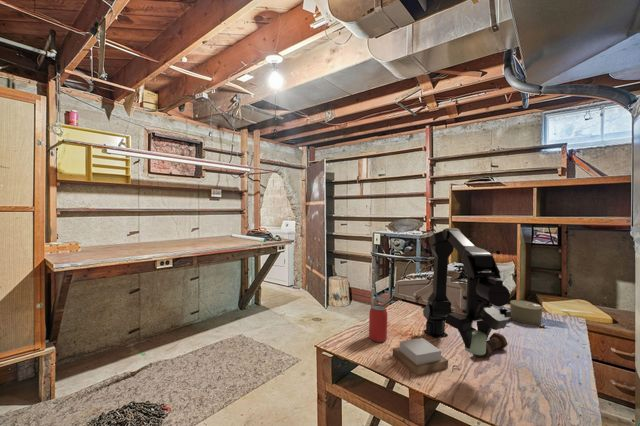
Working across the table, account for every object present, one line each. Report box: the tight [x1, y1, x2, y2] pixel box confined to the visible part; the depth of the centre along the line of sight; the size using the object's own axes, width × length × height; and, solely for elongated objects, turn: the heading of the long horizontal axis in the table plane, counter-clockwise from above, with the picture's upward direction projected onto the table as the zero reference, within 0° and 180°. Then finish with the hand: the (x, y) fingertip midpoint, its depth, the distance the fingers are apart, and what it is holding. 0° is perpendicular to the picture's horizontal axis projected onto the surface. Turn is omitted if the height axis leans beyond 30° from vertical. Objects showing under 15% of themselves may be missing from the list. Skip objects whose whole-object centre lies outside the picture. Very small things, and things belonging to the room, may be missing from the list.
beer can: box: [368, 304, 388, 343], centre depth 109 cm, size 7×7×12 cm
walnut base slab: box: [392, 346, 449, 376], centre depth 94 cm, size 12×12×3 cm
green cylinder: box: [464, 329, 487, 355], centre depth 86 cm, size 6×6×5 cm
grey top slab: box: [399, 337, 442, 365], centre depth 93 cm, size 9×9×3 cm
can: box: [509, 299, 544, 325], centre depth 131 cm, size 12×12×7 cm
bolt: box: [473, 332, 508, 358], centre depth 101 cm, size 6×5×15 cm
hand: (475, 346), depth 86 cm, fingers closed on green cylinder, 5 cm apart
